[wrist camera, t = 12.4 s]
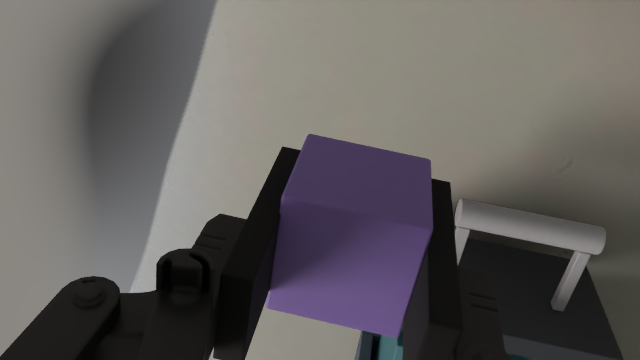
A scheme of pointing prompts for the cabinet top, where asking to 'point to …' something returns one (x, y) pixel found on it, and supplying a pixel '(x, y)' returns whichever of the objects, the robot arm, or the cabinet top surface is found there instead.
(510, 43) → the cabinet top surface
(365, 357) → the drawer casing
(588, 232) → the drawer
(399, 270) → the purple cube
